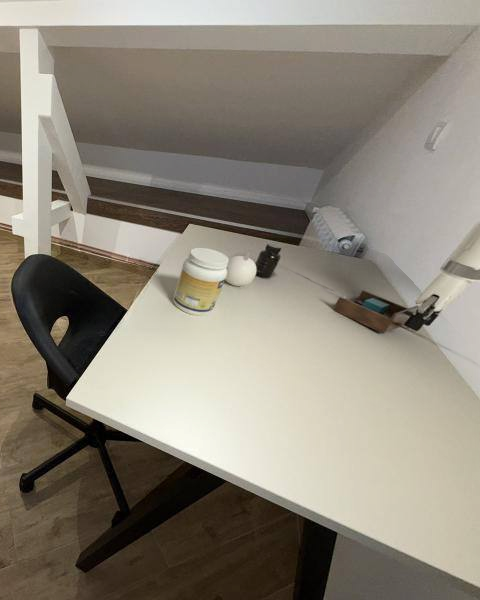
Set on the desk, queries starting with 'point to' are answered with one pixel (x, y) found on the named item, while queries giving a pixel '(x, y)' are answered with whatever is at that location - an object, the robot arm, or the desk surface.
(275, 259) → the supplement bottle
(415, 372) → the desk surface
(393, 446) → the desk surface
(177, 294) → the supplement tub
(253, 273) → the ornament
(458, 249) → the robot arm
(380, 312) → the block
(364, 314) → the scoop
